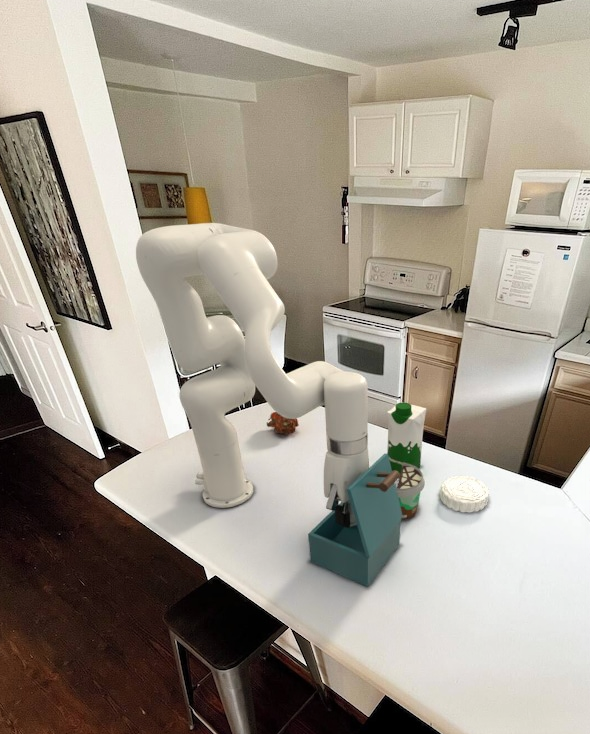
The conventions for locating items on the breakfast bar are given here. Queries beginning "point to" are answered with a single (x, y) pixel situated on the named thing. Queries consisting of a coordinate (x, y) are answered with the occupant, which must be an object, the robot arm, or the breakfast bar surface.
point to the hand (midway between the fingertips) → (349, 517)
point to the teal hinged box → (349, 550)
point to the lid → (375, 503)
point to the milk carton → (405, 435)
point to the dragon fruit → (282, 424)
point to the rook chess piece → (351, 515)
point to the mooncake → (464, 494)
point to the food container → (409, 490)
